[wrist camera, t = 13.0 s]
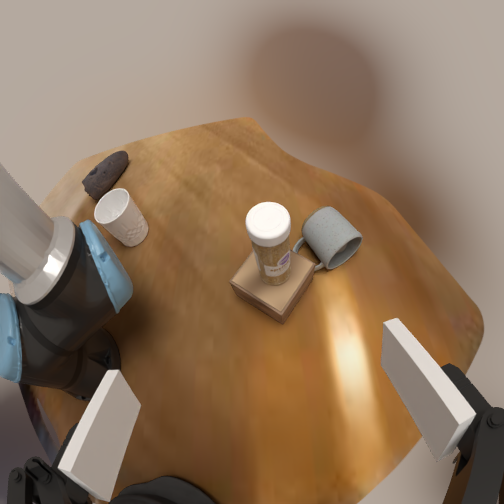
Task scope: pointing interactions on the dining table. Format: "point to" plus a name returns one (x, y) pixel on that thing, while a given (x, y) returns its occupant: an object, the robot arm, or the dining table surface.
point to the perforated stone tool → (105, 174)
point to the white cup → (121, 217)
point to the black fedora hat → (162, 493)
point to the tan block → (273, 286)
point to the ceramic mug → (329, 237)
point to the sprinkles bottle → (270, 241)
